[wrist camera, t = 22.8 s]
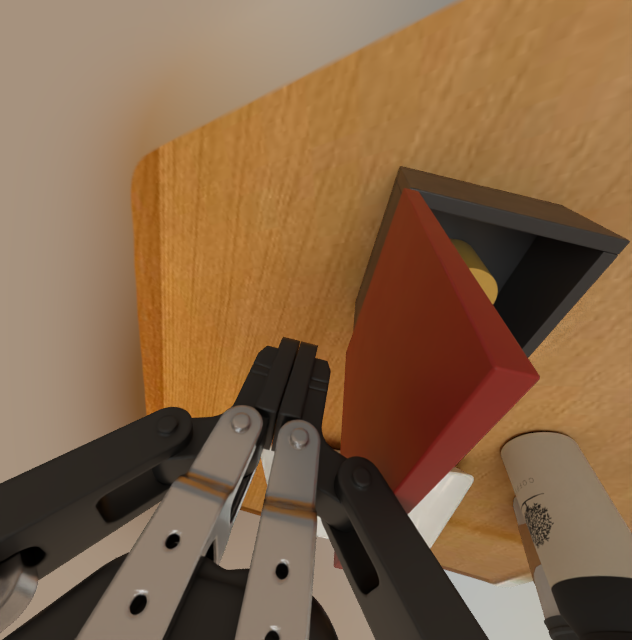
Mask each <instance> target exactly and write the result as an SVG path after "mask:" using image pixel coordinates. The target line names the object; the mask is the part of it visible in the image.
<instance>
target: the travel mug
mask: <svg viewBox="0 0 632 640" xmlns="http://www.w3.org/2000/svg"><path fill="white" fill-rule="evenodd" d="M501 457H502V460H503V462H504V465H505V468H506V470H507V473H508V476H509V478H510V481H511V484H512V487H513V489H514V492H515V495H516V497H517V500H518V503H519V505H520V508H521V511H522V513H523V516H524V519H525V521H526V524H527V527H528V529H529V532H530V535H531V538H532V540H533V543H534V546H535V548H536V551H537V554H538V556H539V559H540V562H541V564H542V567H543V570H544V572H545V575H546V578H547V580H548V583H549V586H550V589H551V591H552V594H553V597H554V599H555V602H556V605H557V607H558V610H559V613H560V615H561V616H562V617H563V619H564V620H565V621H566V622H567V624H568V625H569V626H570V628H571V629H572V630H573V631H574V633H575V634H576V635H577V636H578V638H579V640H632V533H631V531H630V530H629V528H628V526H627V525H626V523H625V522H624V520H623V518H622V517H621V515H620V513H619V512H618V510H617V508H616V507H615V505H614V504H613V502H612V500H611V499H610V497H609V495H608V494H607V492H606V490H605V489H604V487H603V485H602V484H601V482H600V481H599V479H598V477H597V476H596V474H595V472H594V471H593V469H592V467H591V466H590V464H589V463H588V461H587V459H586V458H585V456H584V454H583V453H582V451H581V449H580V448H579V446H578V445H577V443H576V442H575V441H574V440H573V439H572V438H570V437H568V436H566V435H563V434H559V433H552V432H537V433H529V434H525V435H522V436H519V437H517V438H514V439H512V440H511V441H509V442H508V443H506V444H505V445H504V447H503V448H502V450H501Z"/></svg>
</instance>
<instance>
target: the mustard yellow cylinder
mask: <svg viewBox="0 0 632 640" xmlns="http://www.w3.org/2000/svg"><path fill="white" fill-rule="evenodd" d="M450 240H451V242H452V243H453V245H454V246H455V248H456V249H457V251H458V252H459V254H460V255H461V257H462V259H463V260H464V262H465V263H466V265H467V266H468V268H469V269H470V271H471V272H472V274H473V275H474V277H475V278H476V280H477V281H478V283H479V284H480V286H481V287H482V289H483V291H484V292H485V294H486V295H487V297H488V298H489V300H490V301H491V303H492V304H494V302H495V300H496V298H497V293H498V287H497V283H496V281H495V279H494V278H493V276H492V275H491V273H490V272H489V271H488V269H487V268H486V266H485V265H484V264H483V262H482V261H481V259H480V258H479V257H478V255H477V254H476V252H475V251H474V250H473V248H472V247H471V246H470V245H469V244H468V243H466V242H464V241H462V240H458V239H450Z"/></svg>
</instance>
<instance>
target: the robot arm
mask: <svg viewBox="0 0 632 640" xmlns="http://www.w3.org/2000/svg"><path fill="white" fill-rule="evenodd" d="M299 344H300V341H298V340H294V339H290V338H286V337H283V338H282V340H281V343H280V345H279V348H275V347H271V346H266V347H265V348H264V349H263V350H261V351H260V352H259V353H258V355H257V357H256V359H255V361H254V364H253V365H252V368H251V370H250V372H249V374H248V376H247V378H246V380H245V382H244V384H243V386H242V388H241V391H240V393H239V395H238V397H237V399H236V401H235V403H234V404H233V406H232V407H231V408H229V409H228V410H226V411H225V412H224V413H223V414H221V415H218V416H214V417H202V418H191V416H190V414H189V413H188V412H187V411H186V410H184V409H182V408H178V407H168V408H163V409H161V410H158V411H156V412H154V413H152V414H150V415H147V416H145V417H144V418H141V419H139V420H137V421H134V422H132V423H130V424H128V425H126V426H124V427H122V428H119V429H117V430H115V431H113V432H111V433H109V434H106V435H104V436H102V437H100V438H98V439H96V440H93V441H91V442H89V443H87V444H85V445H83V446H81V447H78V448H76V449H74V450H72V451H70V452H67V453H65V454H63V455H61V456H59V457H57V458H55V459H52V460H50V461H48V462H46V463H44V464H42V465H40V466H37V467H35V468H33V469H31V470H29V471H27V472H24V473H22V474H20V475H18V476H16V477H14V478H11V479H9V480H7V481H5V482H3V483H1V484H0V633H1V632H2V631H3V630H5V629H6V628H7V627H8V626H9V625H11V624H12V623H13V622H14V621H15V620H16V619H17V618H18V617H19V616H20V615H21V614H22V613H23V611H24V610H25V609H26V608H27V606H28V605H29V603H30V601H31V600H32V598H33V596H34V594H35V592H36V589H37V585H38V580H40V579H41V578H43V577H44V576H46V575H48V574H49V573H51V572H52V571H54V570H55V569H57V568H58V567H60V566H61V565H63V564H64V563H66V562H68V561H69V560H71V559H72V558H74V557H75V556H77V555H78V554H80V553H82V552H83V551H84V550H86V549H88V548H89V547H91V546H92V545H94V544H95V543H97V542H99V541H100V540H101V539H103V538H105V537H106V536H108V535H109V534H111V533H112V532H114V531H116V530H117V529H118V528H120V527H122V526H123V525H125V524H126V523H128V522H129V521H131V520H133V519H134V518H135V517H137V516H139V515H140V514H142V513H143V512H145V511H146V510H148V509H150V508H151V507H153V506H154V505H155V504H157V503H159V502H160V501H161V503H160V504H159V506H158V508H157V509H156V511H155V512H154V514H153V516H152V517H151V519H150V520H149V522H148V524H147V525H146V527H145V528H144V530H143V532H142V533H141V535H140V537H139V538H138V540H137V541H136V543H135V544H134V546H133V548H132V549H131V551H130V552H129V553H127V554H124V555H122V556H120V557H118V558H116V559H114V560H112V561H111V562H109V563H107V564H105V565H104V566H102V567H101V568H99V569H98V570H97V571H95V572H94V573H93V574H91V575H90V576H89V577H87V578H86V579H84V580H83V581H82V582H80V583H79V584H78V585H76V586H75V587H73V588H72V589H71V590H69V591H68V592H67V593H65V594H64V595H63V596H61V597H60V598H58V599H57V600H56V601H54V602H53V603H52V604H50V605H49V606H48V607H46V608H45V609H44V610H42V611H41V612H39V613H38V614H37V615H35V616H34V617H32V618H31V619H30V620H28V621H27V622H26V623H24V624H23V625H22V626H20V627H19V628H17V629H16V630H15V631H13V632H12V633H11V634H9V635H8V636H7V637H5V638H4V639H3V640H338V637H337V635H336V632H335V630H334V627H333V625H332V623H331V621H330V619H329V617H328V616H327V614H326V612H325V611H324V609H323V608H322V606H321V605H320V604H319V603H318V601H317V600H316V599H315V598H314V597H313V596H312V590H313V589H312V588H313V575H314V562H315V549H316V536H317V516H319V517H320V518H321V522H322V524H323V527H324V529H325V531H326V533H327V535H328V538H329V539H330V542H331V544H332V546H333V548H334V551H335V553H336V555H337V557H338V559H339V561H340V564H341V566H342V568H343V570H344V572H345V574H346V577H347V579H348V581H349V583H350V585H351V587H352V590H353V592H354V594H355V596H356V598H357V600H358V603H359V605H360V607H361V609H362V611H363V613H364V615H365V618H366V620H367V622H368V624H369V627H370V628H371V631H372V633H373V635H374V637H375V640H489V639H488V637H487V636H486V634H485V633H484V631H483V630H482V628H481V627H480V625H479V624H478V622H477V620H476V619H475V618H474V616H473V614H472V613H471V611H470V610H469V608H468V607H467V605H466V604H465V602H464V600H463V599H462V597H461V596H460V594H459V593H458V591H457V590H456V588H455V587H454V585H453V584H452V582H451V581H450V579H449V578H448V576H447V574H446V573H445V571H444V570H443V568H442V567H441V565H440V564H439V562H438V560H437V559H436V557H435V556H434V554H433V553H432V551H431V550H430V548H429V547H428V545H427V544H426V542H425V540H424V539H423V537H422V536H421V534H420V533H419V531H418V530H417V528H416V527H415V525H414V524H413V522H412V520H411V519H410V517H409V516H408V514H407V513H406V511H405V510H404V508H403V507H402V505H401V504H400V502H399V500H398V499H397V497H396V496H395V494H394V493H393V491H392V490H391V488H390V487H389V485H388V484H387V482H386V480H385V479H384V477H383V476H382V474H381V473H380V471H379V470H378V468H377V467H376V466H375V465H374V464H373V463H372V462H371V461H369V460H368V459H366V458H363V457H359V456H353V457H349V458H346V457H344V456H343V455H341V454H340V453H338V452H337V451H335V450H334V449H332V448H331V447H330V446H329V445H328V444H327V442H326V441H325V439H324V437H323V434H322V428H321V427H322V420H323V414H324V408H325V402H326V396H327V390H328V384H329V379H330V373H331V371H330V368H329V365H328V362H327V361H325V360H321V359H317V358H315V356H316V352H317V348H318V346H317V345H313V344H309V343H306V342H302V341H301V344H300V347H299ZM298 349H299V350H298ZM273 437H274V439H273ZM272 440H273V444H272V449H271V451H274V457H273V461H272V466H271V471H270V475H269V480H268V485H267V490H266V494H265V499H264V504H263V508H262V513H261V518H260V522H259V527H258V532H257V537H256V541H255V546H254V551H253V556H252V560H251V565H250V569H235V570H226V569H224V568H222V567H220V566H219V563H220V561H221V559H222V556H223V554H224V551H225V548H226V545H227V542H228V539H229V536H230V533H231V529H232V527H233V524H234V521H235V519H236V517H237V514H238V512H239V509H240V507H241V505H242V502H243V500H244V497H245V495H246V492H247V490H248V488H249V485H250V483H251V480H252V478H253V476H254V473H255V471H256V467H257V466H258V463H259V460H260V457H261V454H262V451H263V449H266V450H270V447H271V443H272Z"/></svg>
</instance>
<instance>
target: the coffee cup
mask: <svg viewBox="0 0 632 640" xmlns="http://www.w3.org/2000/svg"><path fill="white" fill-rule="evenodd" d="M513 508H514V511H515V515H516V518H517V522H518V528H519V532H520V535H521V539H522V542H523V546H524V549H525V553H526V556H527V560H528V563H529V567H530V571H531V574H532V578H533V581H534V583H535V586H536V589H537V592H538V596H539V599H540V603H541V606H542V610H543V613H544V617H545V620H544V623H545V625H546V626H547V628H548V630H549V635H550V637H551V639H553V640H579V638H578V636H577V635H576V634H575V633H574V631H573V630H572V629H571V628H570V626H569V625H568V624H567V622H566V621H565V620H564V619H563V617H562V616H561V615H560V613H559V610H558V607H557V605H556V602H555V599H554V597H553V594H552V591H551V589H550V586H549V583H548V580H547V578H546V575H545V572H544V570H543V567H542V564H541V562H540V559H539V556H538V554H537V551H536V548H535V546H534V543H533V540H532V538H531V535H530V532H529V529H528V527H527V524H526V521H525V519H524V516H523V513H522V511H521V508H520V505H519V503H518V500H517V497H515V498H514V503H513Z"/></svg>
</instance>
